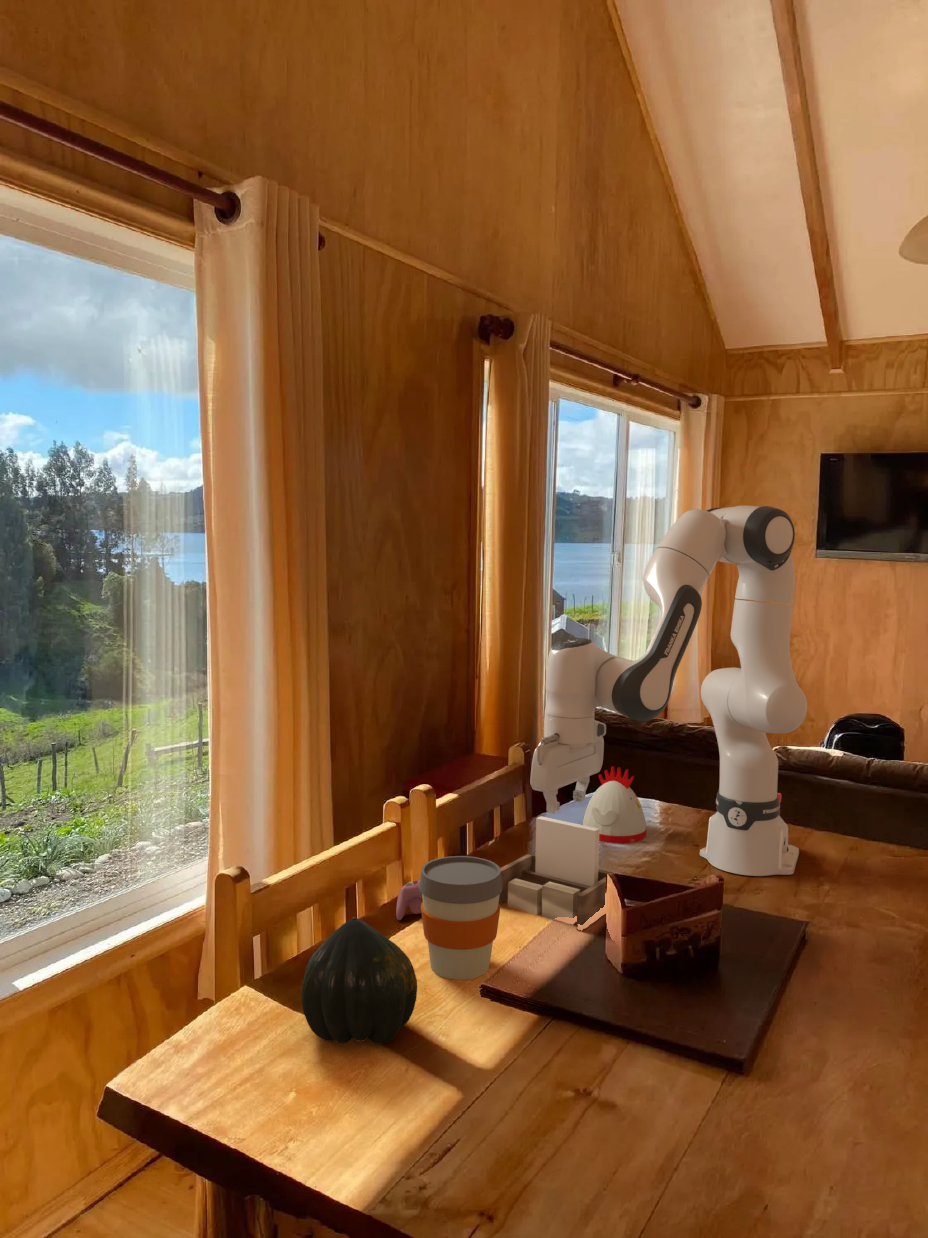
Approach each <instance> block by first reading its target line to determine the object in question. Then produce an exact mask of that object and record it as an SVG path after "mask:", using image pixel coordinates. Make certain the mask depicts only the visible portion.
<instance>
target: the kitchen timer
mask: <svg viewBox="0 0 928 1238" xmlns="http://www.w3.org/2000/svg"><path fill="white" fill-rule="evenodd" d="M615 770H616V769H615V766H614V765H613V766H611V768H610V772H609V771H608V769H605V770H604V776H605V779H604V777H603V776H602V774H601V773H600V774H598V779H599V782H600V784H601V785H600V786H599V787H598V788H597V789H596V790H595V791H594V793H593V795H592V797H590V799H589V802H588V804H587V807H586V809H585V812H584V817H583V821H582V825H584V826H589V827H594V828H598V829H599V842H604V843H609V844H631V843H637V842H639V841H643V840H644V839H645V838H646V837H647V822H646V817H645V814H644V811H643V807H642V804H641V802H640V800H639V798H638V796H637V795H636V793H635V792H634V790H633V789H632V788H631V784H632V783H633V781H634V779H635V775H632V776H630V778H629V768H627V769H625V770H624V773H623V775H622V770H621V767H620V766H619V767H617V771H615Z"/></svg>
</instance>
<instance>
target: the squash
mask: <svg viewBox="0 0 928 1238" xmlns="http://www.w3.org/2000/svg"><path fill="white" fill-rule="evenodd" d="M303 976H304V977H303V982H302V987H301V993H300V994H301V1006H302V1011H303V1015H304V1018H305V1020H306V1022H307V1024H308V1027H309V1029H310V1030H311V1032H312V1033H314V1035H315V1036H317V1038H320V1039H321V1040H324V1041H328V1042H337V1043H340V1044H346V1043H348V1042H350V1041H351V1040H352V1039H353V1040H355V1041H357V1042H363V1041H366V1040H369V1042H371V1043H373V1044H378V1045H383V1044H387V1043H390V1042H392V1041H393V1040H394V1039H395V1038H396V1036H397V1035H398V1033H399V1031H400V1029H401V1028H402V1027H404V1026H405V1025H406V1024H407V1023H408V1022H409V1021H410V1019H411V1017H412V1015H413V1012H414V1010H415V1005H416V1002H417V993H418V980H417V976H416V972H415V968H414V966H413V964H412V961H411V959H410V958H409V957H408V955H407V954H406V953H405V952H404V951H403V949H402V948H401V947H399V946H398V944H396V943H395V942H393V941H392V940H391V939H389V938H388V937H386V936H385V935H383V934H382V933H381V932H379V931H378V930H376V929H375V928H374V927H372V926H370V925H369V924H368V923H366V922H364V921H363V920H361V919H358V917H354V916H353V917H351V919H349V920H348V921H346V922H344V923H343V924H341V926H340V927H339V928H337V929H336V930H335V931H334V932H333V933H332V934H331V935H330V936H329V937H328V938H327V939H326V940H325V941H323V943H322V944H321V945H320V946H318V948H317V949H316V951H314V953H313V954H312V956H311V957H310V958H309V960H308V962H307V965H306V966H305V971H304V975H303Z"/></svg>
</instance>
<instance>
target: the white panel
mask: <svg viewBox="0 0 928 1238" xmlns="http://www.w3.org/2000/svg"><path fill="white" fill-rule="evenodd" d="M535 823H536V824H535V854H536V861H535V872H536V873H540V874H544V875H548V876H552V877H556V878H560V879H564V880H567V881H571V882H575V883H579V884H583V885H587V886H592V885H594V884H595V883H597V882H598V869H599V864H600V862H599V860H600V857H599V856H600V853H599V852H600V841H599V829H598V828H594V827H589V826H584V825H583V824H579V823H574V822H569V821H565V820H560V819H554V818H550V817H546V816H538V817H536V820H535Z"/></svg>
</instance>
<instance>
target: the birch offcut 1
mask: <svg viewBox="0 0 928 1238" xmlns="http://www.w3.org/2000/svg"><path fill="white" fill-rule="evenodd" d="M507 908H511V909H514V910H518V911H522V912H525V913H529V914H532V915H534V916H538V915H539V914H542V885H539V884H535V883H531V882H527V881H524V880H520V879H516V878H515V879H513V880H511V881H510V882H508V900H507Z"/></svg>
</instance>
